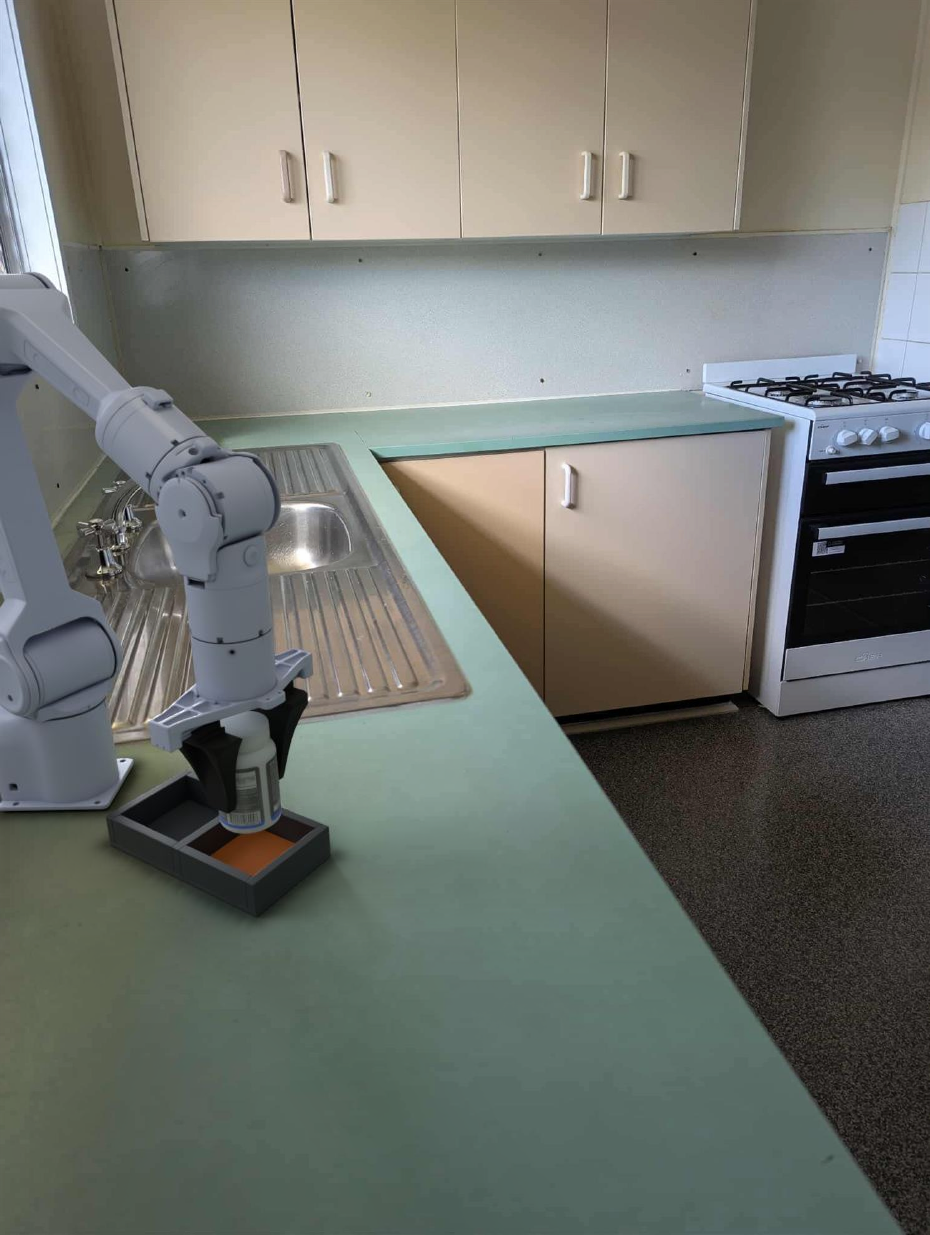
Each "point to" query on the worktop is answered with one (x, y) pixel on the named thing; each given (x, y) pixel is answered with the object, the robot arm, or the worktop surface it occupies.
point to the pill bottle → (253, 775)
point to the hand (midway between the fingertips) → (247, 791)
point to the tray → (217, 845)
